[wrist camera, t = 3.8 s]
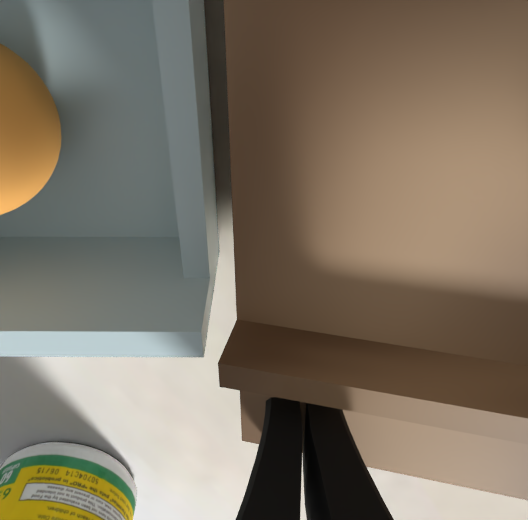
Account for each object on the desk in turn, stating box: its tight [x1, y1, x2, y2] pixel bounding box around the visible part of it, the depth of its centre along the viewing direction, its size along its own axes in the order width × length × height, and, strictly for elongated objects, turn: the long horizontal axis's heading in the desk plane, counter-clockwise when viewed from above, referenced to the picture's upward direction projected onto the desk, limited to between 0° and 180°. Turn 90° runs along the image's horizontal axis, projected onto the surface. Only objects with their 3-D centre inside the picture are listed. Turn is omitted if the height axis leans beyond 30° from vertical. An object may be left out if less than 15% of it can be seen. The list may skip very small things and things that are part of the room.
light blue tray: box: [0, 0, 219, 357], centre depth 10 cm, size 7×8×4 cm
